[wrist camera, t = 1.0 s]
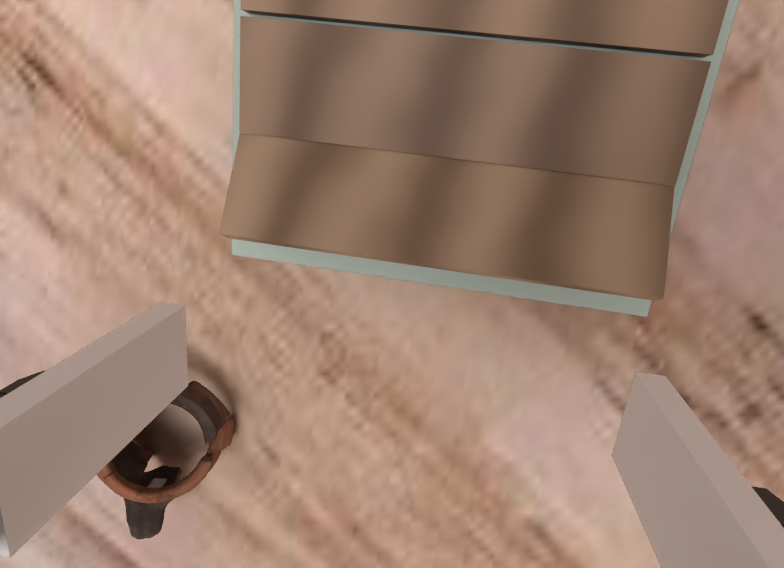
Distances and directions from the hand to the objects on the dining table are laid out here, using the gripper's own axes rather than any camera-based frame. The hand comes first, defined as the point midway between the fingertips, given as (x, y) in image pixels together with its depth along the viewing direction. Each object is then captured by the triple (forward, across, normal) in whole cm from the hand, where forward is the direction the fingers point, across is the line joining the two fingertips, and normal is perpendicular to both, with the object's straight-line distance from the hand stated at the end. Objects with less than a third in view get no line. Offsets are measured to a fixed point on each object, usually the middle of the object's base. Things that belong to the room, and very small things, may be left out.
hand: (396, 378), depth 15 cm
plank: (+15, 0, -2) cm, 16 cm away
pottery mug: (+18, +17, +17) cm, 30 cm away
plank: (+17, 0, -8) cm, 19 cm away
